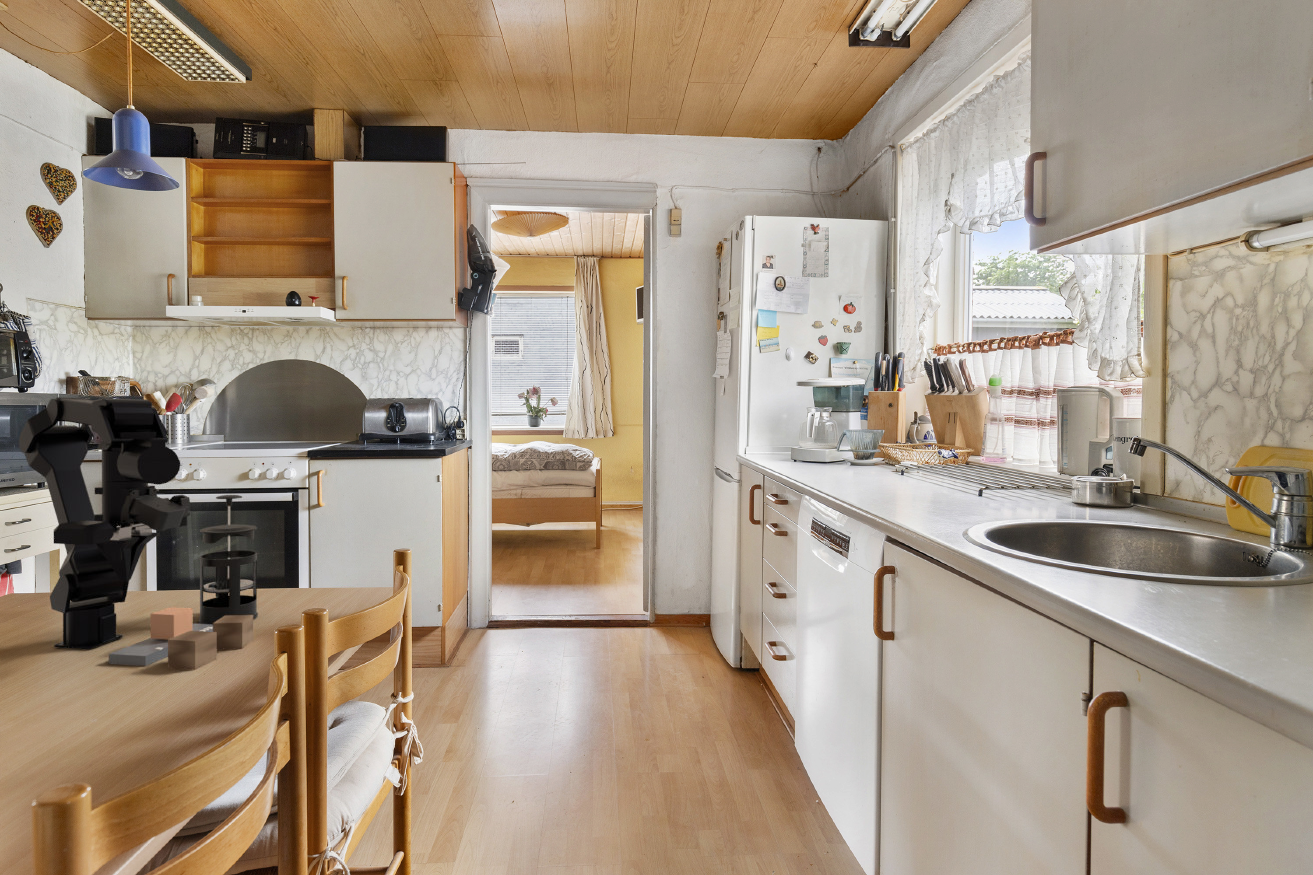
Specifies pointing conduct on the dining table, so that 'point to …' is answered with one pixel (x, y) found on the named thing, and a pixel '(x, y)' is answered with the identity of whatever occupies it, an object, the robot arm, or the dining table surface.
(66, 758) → the dining table surface
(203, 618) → the french press
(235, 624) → the walnut block far
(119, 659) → the base
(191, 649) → the walnut block near
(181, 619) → the salmon pink cube
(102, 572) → the robot arm
